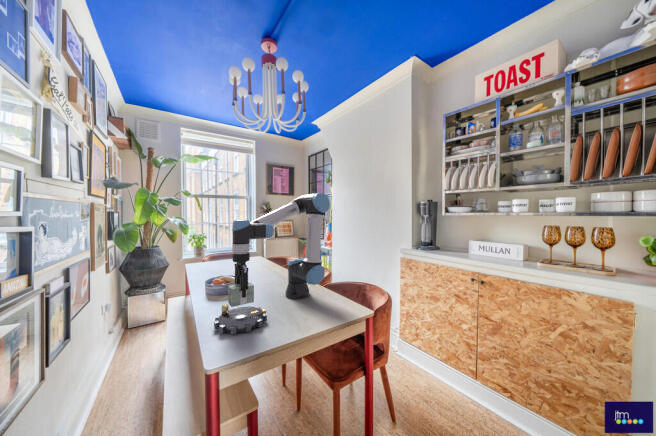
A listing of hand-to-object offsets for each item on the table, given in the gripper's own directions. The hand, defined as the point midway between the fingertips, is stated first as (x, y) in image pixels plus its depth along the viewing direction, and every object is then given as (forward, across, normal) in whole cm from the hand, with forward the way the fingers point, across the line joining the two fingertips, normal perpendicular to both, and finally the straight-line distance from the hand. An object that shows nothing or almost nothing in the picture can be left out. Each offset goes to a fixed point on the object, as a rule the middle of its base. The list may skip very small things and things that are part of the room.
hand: (241, 301), depth 106 cm
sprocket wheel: (+10, 0, 0) cm, 10 cm away
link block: (0, 0, 0) cm, 0 cm away
